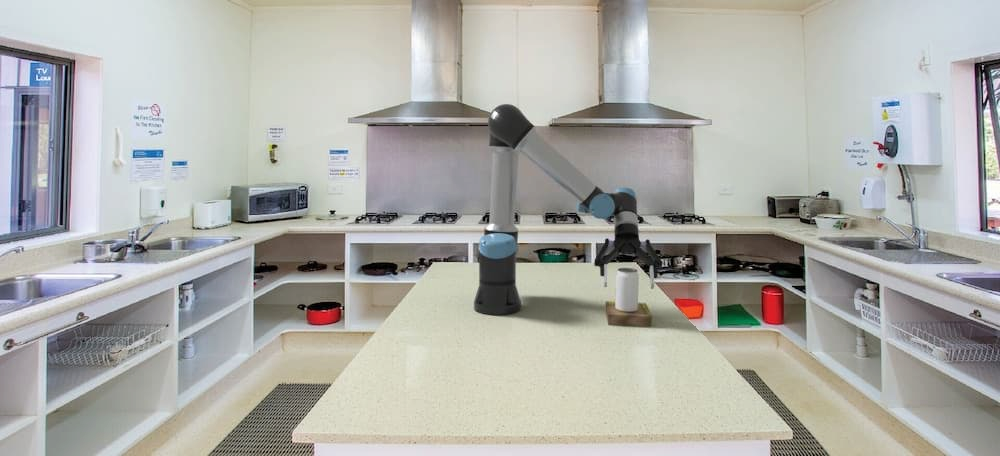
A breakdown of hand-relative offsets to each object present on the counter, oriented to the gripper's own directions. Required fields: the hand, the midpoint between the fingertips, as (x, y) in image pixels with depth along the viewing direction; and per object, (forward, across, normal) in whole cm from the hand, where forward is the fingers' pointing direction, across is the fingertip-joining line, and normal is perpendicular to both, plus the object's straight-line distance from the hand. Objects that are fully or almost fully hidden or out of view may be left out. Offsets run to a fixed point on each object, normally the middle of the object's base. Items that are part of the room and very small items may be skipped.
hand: (628, 285), depth 148 cm
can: (+6, +1, -4) cm, 7 cm away
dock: (+8, 0, -6) cm, 10 cm away
